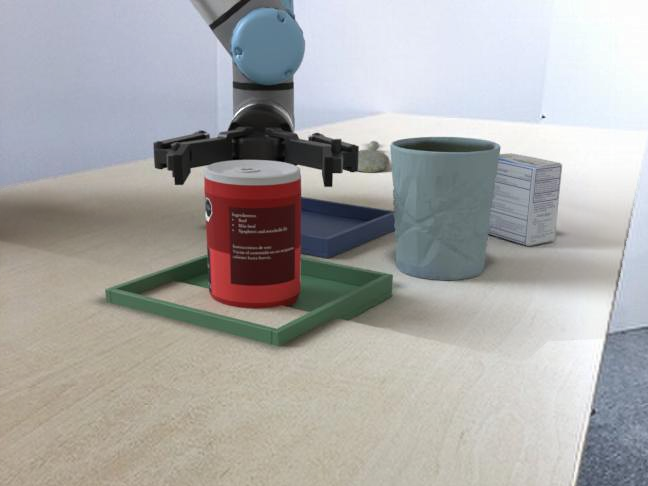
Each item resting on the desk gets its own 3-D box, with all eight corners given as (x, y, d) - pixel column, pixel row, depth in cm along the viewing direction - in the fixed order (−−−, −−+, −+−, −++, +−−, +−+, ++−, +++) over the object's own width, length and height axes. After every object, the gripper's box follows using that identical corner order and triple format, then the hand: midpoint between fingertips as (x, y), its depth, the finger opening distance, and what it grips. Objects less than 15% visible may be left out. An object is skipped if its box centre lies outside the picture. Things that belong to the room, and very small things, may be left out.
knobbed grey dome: (344, 175, 131) (387, 179, 131) (346, 153, 130) (389, 157, 129) (356, 148, 151) (392, 151, 151) (357, 129, 150) (394, 132, 149)
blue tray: (210, 236, 93) (209, 218, 92) (289, 210, 105) (289, 194, 104) (327, 258, 86) (328, 239, 85) (398, 228, 98) (399, 211, 97)
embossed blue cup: (504, 281, 80) (516, 151, 75) (398, 284, 78) (405, 152, 74) (470, 252, 89) (479, 135, 85) (376, 254, 87) (380, 135, 83)
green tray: (106, 312, 70) (104, 289, 69) (237, 263, 83) (236, 244, 83) (278, 358, 61) (278, 332, 61) (392, 296, 75) (393, 274, 74)
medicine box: (555, 242, 93) (565, 162, 90) (527, 247, 91) (535, 166, 88) (504, 227, 100) (511, 152, 96) (476, 231, 97) (482, 155, 94)
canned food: (248, 278, 77) (246, 156, 73) (319, 296, 73) (321, 167, 69) (188, 300, 71) (182, 168, 67) (261, 320, 67) (259, 180, 63)
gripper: (369, 171, 99) (388, 213, 79) (152, 168, 98) (117, 210, 78) (371, 105, 96) (392, 131, 77) (148, 101, 95) (111, 126, 75)
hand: (253, 171), depth 77 cm, fingers open, 13 cm apart
